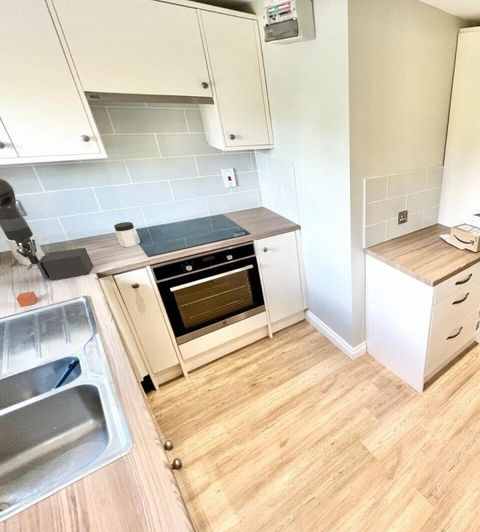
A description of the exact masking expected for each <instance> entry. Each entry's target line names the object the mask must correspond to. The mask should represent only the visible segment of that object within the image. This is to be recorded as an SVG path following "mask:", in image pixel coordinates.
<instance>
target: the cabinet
mask: <svg viewBox="0 0 480 532" xmlns="http://www.w3.org/2000/svg"><path fill="white" fill-rule="evenodd" d="M45 256H46V257H45V258H44V259H43V261H42V263H43V265H44V267H45V269H46V271H47V273H48V274H49V276H50V277H49V279H50V280H51V281H52V282H53V281H59V280H66V279H71V278H77V277H83V276H88V275H90V273H91V271H92V270H93V268H94V264H93V262H92V259H91V257H90V255H89V253H88V251H87V248H86V247H80V248H73V249H72V248H70V249H65V250H57V251H51V252H48V253H47V255H45ZM82 275H83V276H82Z"/></svg>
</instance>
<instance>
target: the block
mask: <svg viewBox="0 0 480 532" xmlns="http://www.w3.org/2000/svg"><path fill="white" fill-rule="evenodd" d="M15 299H16V302H17V303H18V304H19V306H20V307H27V306H32V305H36V303H37V302H38V300H39V298H38V296H37V295H36V293H35V292H34V290H33V291H26V292H22V293H21V292H20V293H19V294H18V295H17V296H16V298H15Z"/></svg>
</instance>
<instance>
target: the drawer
mask: <svg viewBox="0 0 480 532" xmlns="http://www.w3.org/2000/svg"><path fill="white" fill-rule="evenodd" d="M46 256H47V255H45V256H42V258H41V259H40V260H39V261H38V263H37V264H29V265H28V266H27V265H26V267H25V268H24V269H23V272H24V273H28V272H31V271H37V270H39V273H40V274H41V276H42V277H43V279H44V280H49V279H50V276H49V274H48V273H47V271H46V269H45V267H44V265H43V263H42V261H43V259H44V258H45V257H46Z"/></svg>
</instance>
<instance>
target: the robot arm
mask: <svg viewBox="0 0 480 532" xmlns="http://www.w3.org/2000/svg"><path fill="white" fill-rule="evenodd" d="M0 228H1V230H2V232H3V233H4V235H5V237H6V238H7V239H8V240H14V241H16V245H17V247H18V248H19V249H17V252H18V253H19V254H21V255H22V256H23V257H25V258H26V257H28V258H29V260H30V262H31V264H32V265H34V264H37V263H38V261H39V260H38V258H37V256H36V252H37V250H36V245H35V240H30V237H32V236H34V233H33V231H32V229H31V228H30V225H29V224H28V222H27V220H26V218H24V216H23V214H22V212H21V211H20V208H19V207H18V206H17V198H16V194H15V191H14V188H13V186H12V185H11V184H10V183H9V182H8V181H7V180H5V179H3V178H0Z"/></svg>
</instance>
